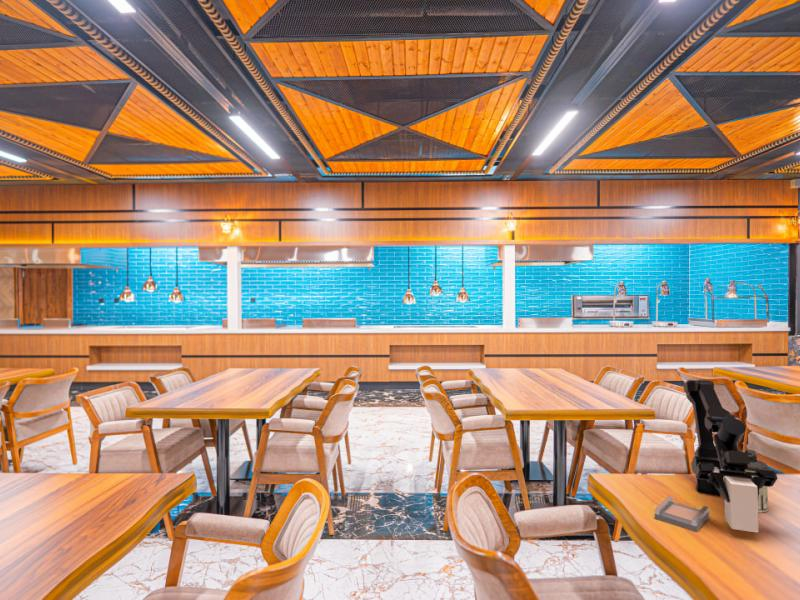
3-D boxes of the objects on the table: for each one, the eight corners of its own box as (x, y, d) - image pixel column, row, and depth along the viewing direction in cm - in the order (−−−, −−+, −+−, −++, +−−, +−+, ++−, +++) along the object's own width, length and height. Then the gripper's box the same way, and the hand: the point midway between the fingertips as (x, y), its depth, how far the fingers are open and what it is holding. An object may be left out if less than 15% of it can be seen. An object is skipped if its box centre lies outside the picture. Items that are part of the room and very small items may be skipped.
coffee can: (724, 496, 149) (723, 454, 149) (762, 502, 145) (761, 458, 145) (732, 509, 140) (731, 464, 140) (773, 515, 135) (772, 469, 136)
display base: (697, 531, 126) (696, 521, 126) (654, 518, 134) (654, 508, 134) (709, 517, 135) (708, 507, 135) (668, 505, 143) (668, 496, 143)
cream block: (724, 519, 128) (724, 476, 128) (749, 522, 126) (748, 478, 126) (732, 528, 123) (731, 483, 123) (758, 532, 121) (757, 486, 121)
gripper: (696, 435, 132) (708, 486, 121) (773, 441, 125) (793, 496, 115) (690, 453, 139) (701, 503, 129) (762, 460, 132) (780, 513, 122)
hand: (742, 503), depth 123 cm, fingers closed on cream block, 6 cm apart
